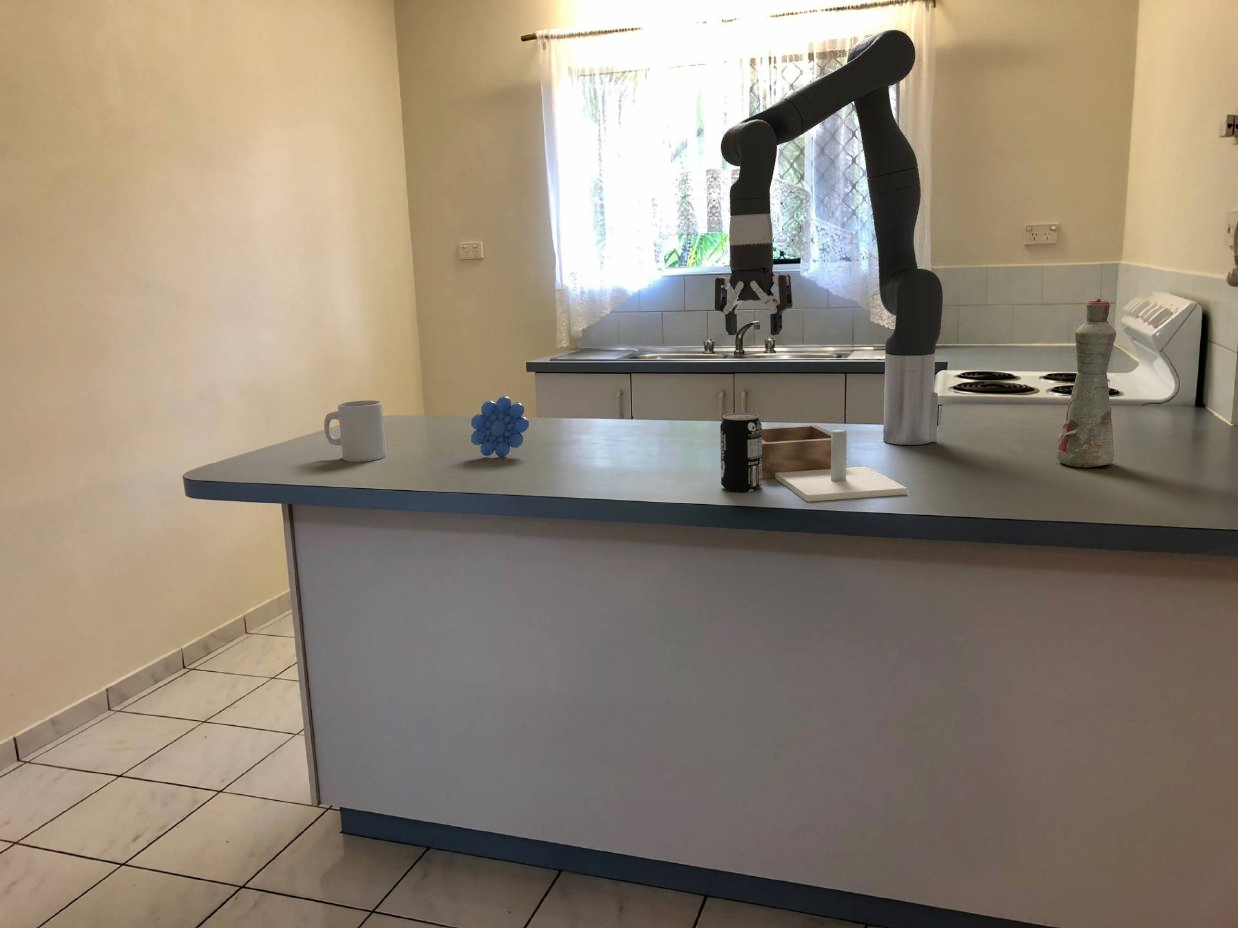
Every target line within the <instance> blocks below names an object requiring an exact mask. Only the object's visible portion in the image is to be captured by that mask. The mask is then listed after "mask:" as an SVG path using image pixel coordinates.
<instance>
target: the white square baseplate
mask: <svg viewBox="0 0 1238 928" xmlns="http://www.w3.org/2000/svg"><path fill="white" fill-rule="evenodd" d="M830 432H831V469H823V470H808V471H794V472H779V473H775V478H774V479H775V480H777V481H778V482H780V483H781V484H782V485H784V486H785V487H786V488H788V489H789V490H790V491H792V492H793V493H794V494H796V495H797V496H799V497H800V498H801V499H803V500H804V501H806V502H819V501H835V500H847V499H859V498H873V497H875V498H876V497H887V496H900V495H901V496H903V495H907V494H908V487H906V486H904V485H902V484H900V483H898V482H897V481H894V480H893V479H891V478H889V477H887V476H885V475H883V474H881V473H879V472H877V471H876V470H874V469H872V468H870V467H868V466H855V467H847V444H848V443H847V442H848V441H847V438H848V435H847V433H848V431H847V430H845V429H833V430H831V431H830Z"/></svg>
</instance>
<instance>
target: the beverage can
mask: <svg viewBox="0 0 1238 928" xmlns="http://www.w3.org/2000/svg"><path fill="white" fill-rule="evenodd" d="M722 418H723V419H722V422H721V423H720V426H719V427H720V432H719V433H720V435H719V436H720V483H721V486H722V487H723V489H724V490H726V491H727V492H733V493H749V492H751V493H752V492H754V491H757V490H759V489H760V487H761V486H762V484H763V479H762V428H763V425H762V423H761V420H760V415H759V414H758V413H755V412H731V413H729V412H728V413H725V414H723V415H722Z"/></svg>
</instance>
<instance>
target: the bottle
mask: <svg viewBox="0 0 1238 928" xmlns="http://www.w3.org/2000/svg"><path fill="white" fill-rule="evenodd" d="M1085 305H1086V316H1085V317H1086V320H1085V321H1084V323H1083V324H1081V325H1080V326H1079V327H1078V328H1077V329H1076V330H1075V332H1074V338H1075V350H1076V354H1075V355H1076V369H1077V372H1076V375H1075V381H1074V383H1073V386H1072V390H1071V391H1072V392H1071V395H1070V398H1069V399H1070V400H1069V402H1068V406H1067V410H1066V413H1065V418H1064V421H1063V424H1062V427H1061V433H1060V434H1059V437H1058V447H1057V450H1056V458H1057V460H1058V462H1059V463H1060V464H1063V465H1065V466H1068V467H1069V466H1071V467H1075V468H1095V467H1101V466H1108V465H1111V464H1112V463H1113V462H1114V459H1115V446H1114V445H1115V443H1114V431H1113V421H1112V412H1113V411H1112V410H1113V409H1112V406H1111V402H1110V392H1109V381H1108V380H1109V379H1108V373H1107V372H1108V369H1109V365H1110V364H1109V363H1110V361H1111V358H1112V352H1113V348H1114V343H1115V341H1116V337H1117V330H1116V329H1115V328H1114V327H1113V326H1112V325H1111V324H1110V322H1109V321H1108V318H1109V314H1110V308H1111V307H1110V306H1111V304H1110V302H1109V301H1108V300H1104V301H1103V300H1102V299H1101V298H1096V299H1095V300H1088V301H1087V303H1086V304H1085Z"/></svg>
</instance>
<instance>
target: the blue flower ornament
mask: <svg viewBox="0 0 1238 928" xmlns="http://www.w3.org/2000/svg"><path fill="white" fill-rule="evenodd" d="M480 410H481V411H480V413H477V414H475V415H474V416H473V417H472V418H471V420H470V421H471V423H470V424H471V427H472V429H474V431H473V432H472V433H471V436H470V441H471V443H472V444H473V445H474V446H480V453H481V454H482V455H483V456H485V457H491V455H493V454H494V453H495V454H496V456H497V457H499V458H504V457H507V456H508V455H509V453H510V451H511V449H512V448H513V449H517V448H519V447H521V446H522V444H523V443H524V435H523V433H525V432H526V431H527V430H528V429H529V425H530V422H529V420H528V418H527V417H525V416H523V414H525V406H524V405H523V404H522V403H521V402H514V403H513V404H512V400H511V398H510V397H509V396H505V395H504V396H500V397H499V398H498V399H497V401H496V403H495V402H494V401H493V400H486V401H485V402H484V403H483V404H482V405H481V408H480Z"/></svg>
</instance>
